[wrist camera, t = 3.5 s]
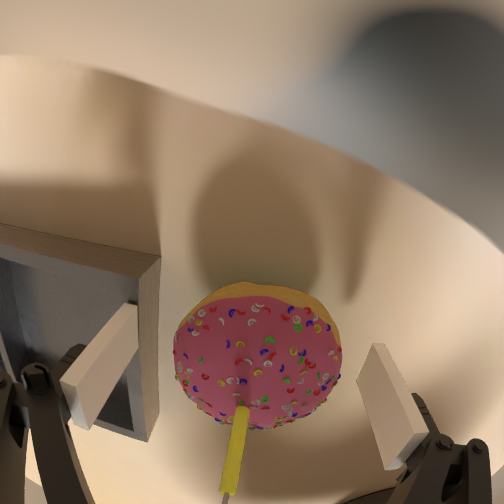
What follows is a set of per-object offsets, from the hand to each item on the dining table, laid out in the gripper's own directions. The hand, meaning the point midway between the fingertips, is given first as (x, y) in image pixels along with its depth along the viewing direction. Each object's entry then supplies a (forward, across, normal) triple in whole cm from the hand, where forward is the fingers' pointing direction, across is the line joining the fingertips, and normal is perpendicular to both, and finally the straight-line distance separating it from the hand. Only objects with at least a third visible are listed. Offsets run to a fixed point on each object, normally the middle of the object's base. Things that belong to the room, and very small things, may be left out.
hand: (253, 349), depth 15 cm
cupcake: (+4, 0, 0) cm, 4 cm away
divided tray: (+4, +20, +4) cm, 20 cm away
